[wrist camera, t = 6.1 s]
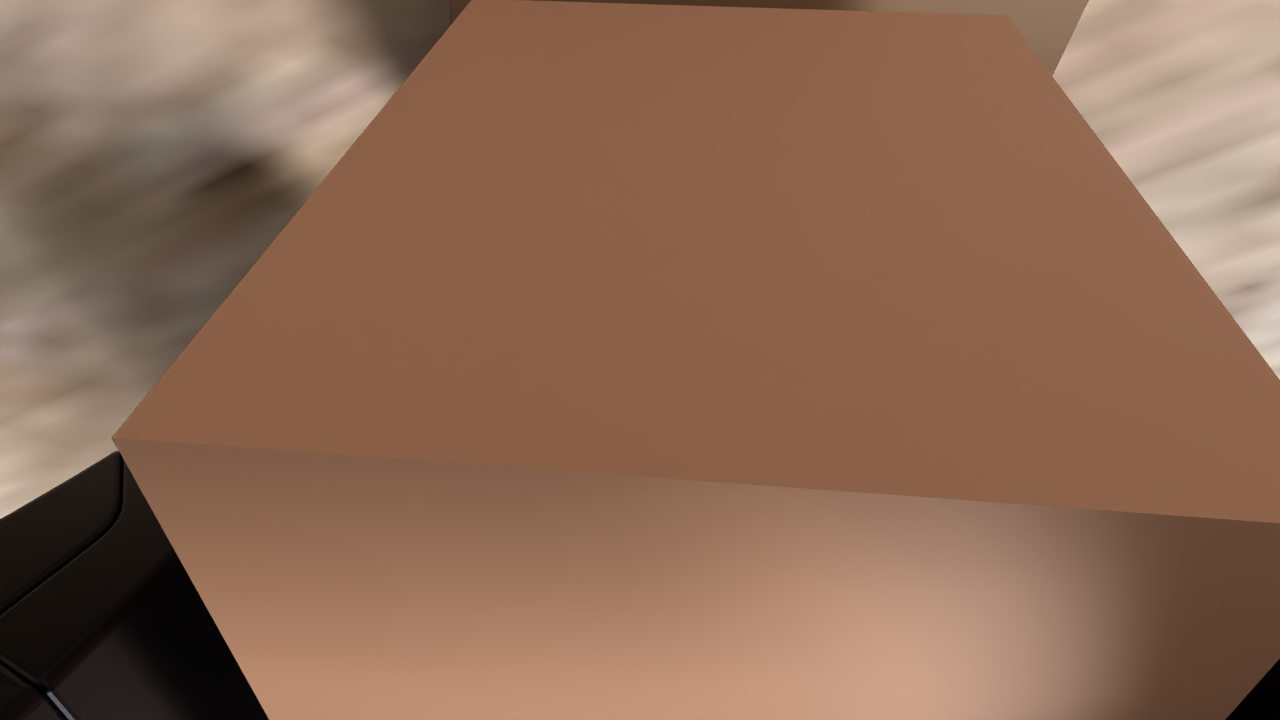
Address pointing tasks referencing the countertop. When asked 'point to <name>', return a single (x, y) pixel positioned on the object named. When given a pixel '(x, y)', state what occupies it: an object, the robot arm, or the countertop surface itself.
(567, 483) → the terracotta block
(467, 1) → the base block
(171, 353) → the countertop surface
